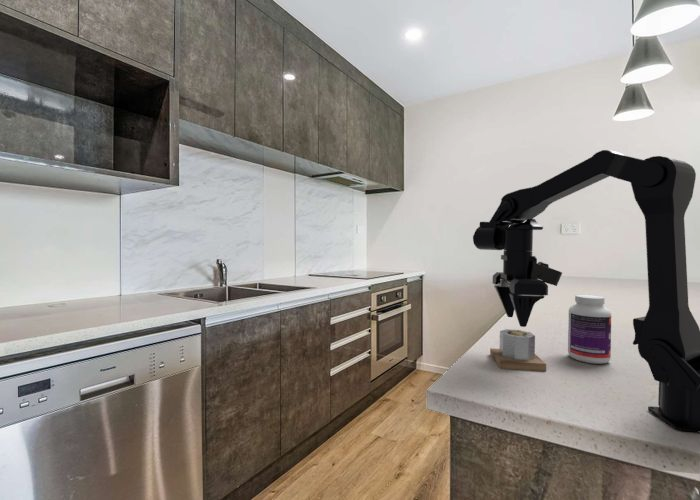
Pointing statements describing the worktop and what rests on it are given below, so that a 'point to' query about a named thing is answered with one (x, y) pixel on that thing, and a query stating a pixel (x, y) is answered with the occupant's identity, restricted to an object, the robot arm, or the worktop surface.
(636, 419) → the worktop surface
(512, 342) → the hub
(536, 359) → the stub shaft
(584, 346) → the pill bottle
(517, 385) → the worktop surface
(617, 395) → the worktop surface
